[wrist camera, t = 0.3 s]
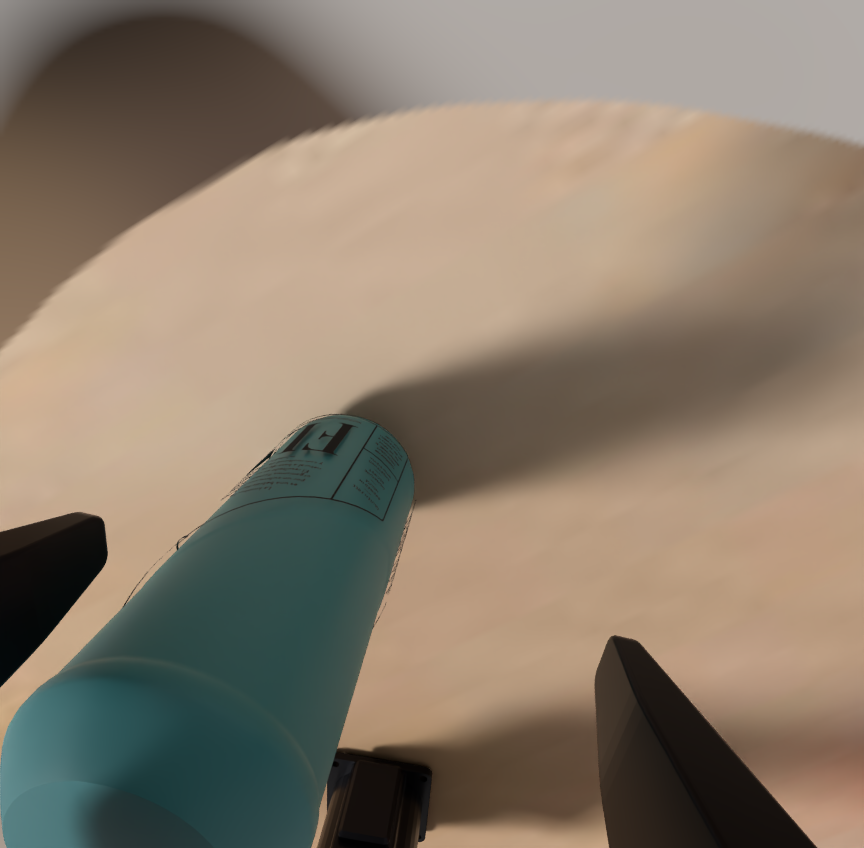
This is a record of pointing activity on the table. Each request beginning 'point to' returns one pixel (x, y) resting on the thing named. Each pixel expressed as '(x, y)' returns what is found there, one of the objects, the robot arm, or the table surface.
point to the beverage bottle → (222, 666)
